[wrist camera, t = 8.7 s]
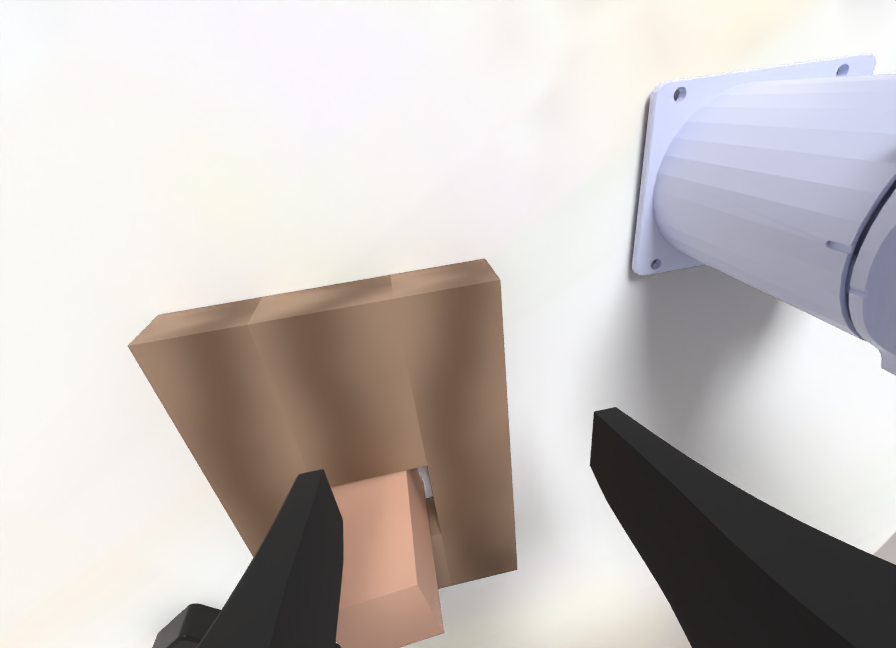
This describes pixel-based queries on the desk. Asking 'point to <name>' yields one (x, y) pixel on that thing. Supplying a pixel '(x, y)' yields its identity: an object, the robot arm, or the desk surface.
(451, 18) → the desk surface
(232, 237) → the desk surface
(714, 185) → the robot arm
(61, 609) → the desk surface
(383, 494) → the pin
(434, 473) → the pin plate
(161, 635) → the multiport hub
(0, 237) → the desk surface
